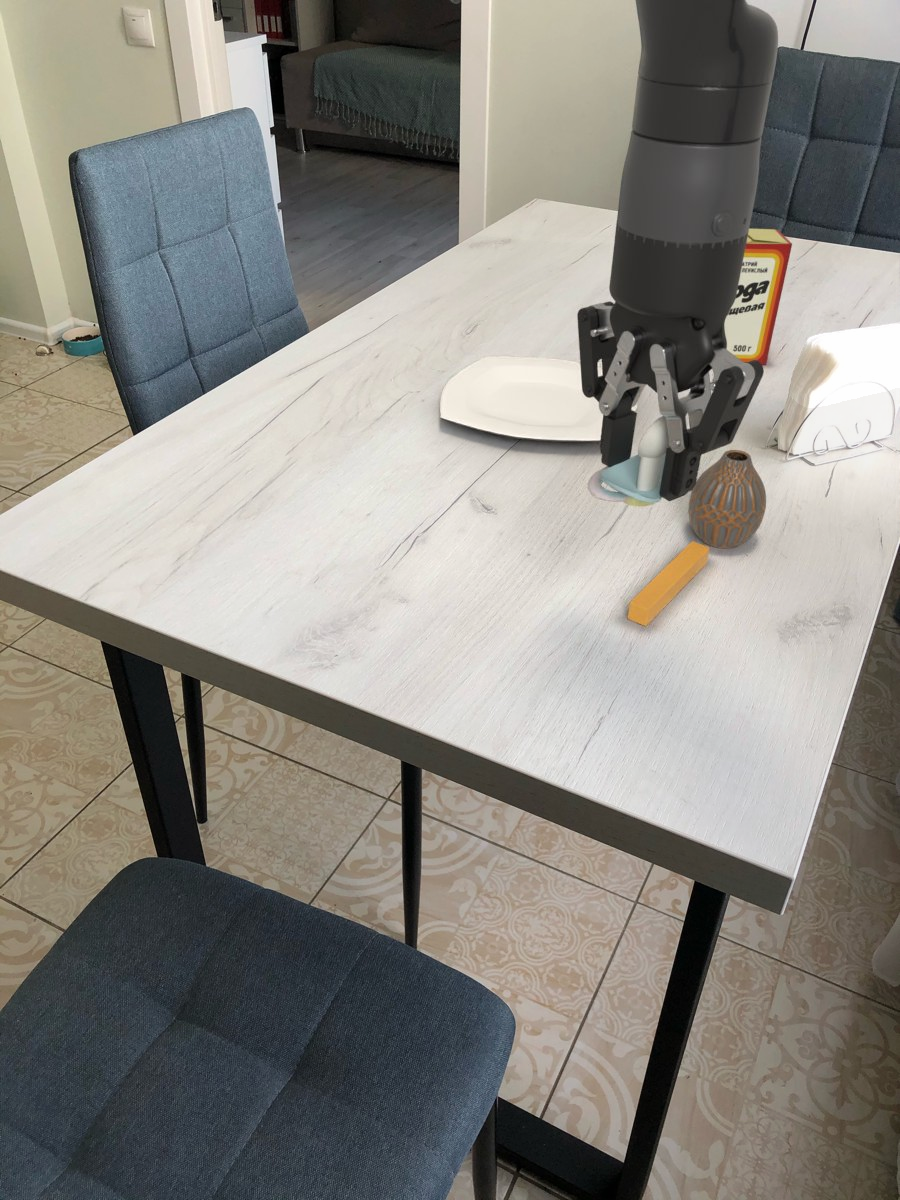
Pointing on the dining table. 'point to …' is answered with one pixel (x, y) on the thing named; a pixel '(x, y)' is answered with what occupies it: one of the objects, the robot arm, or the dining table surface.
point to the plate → (523, 400)
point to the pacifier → (636, 471)
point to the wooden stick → (668, 583)
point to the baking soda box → (757, 295)
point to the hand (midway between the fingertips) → (643, 478)
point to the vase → (728, 501)
